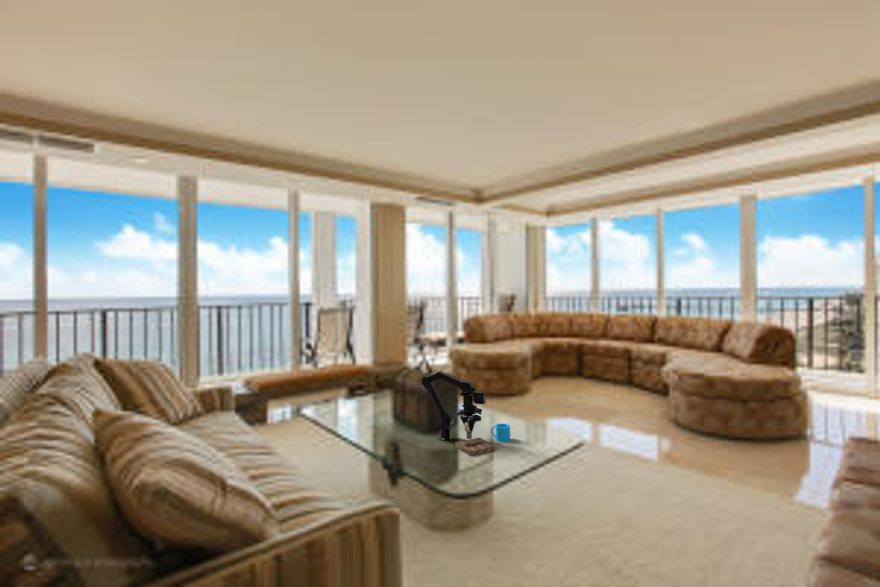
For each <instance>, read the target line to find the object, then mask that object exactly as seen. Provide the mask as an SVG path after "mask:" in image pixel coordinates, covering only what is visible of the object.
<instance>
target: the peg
mask: <svg viewBox="0 0 880 587" xmlns="http://www.w3.org/2000/svg"><path fill="white" fill-rule="evenodd" d="M464 431H465V432H466V439H467V440H470V439H473V437H472V436H473V433H472V432H473V431H472V432H471V431H470V429H469V426H468V422H465V426H464Z"/></svg>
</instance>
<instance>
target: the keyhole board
mask: <svg viewBox="0 0 880 587" xmlns="http://www.w3.org/2000/svg"><path fill="white" fill-rule="evenodd" d="M454 445H455V448H456V447H457V449H458V450H460V451H461V452H463V453H464V454H466V455H467V456H470V457H472V456H477V455H481V454H486V453H489V452H495V451H496V449H497V448H496V445H495V444H493V443H491V442H489V441H488V440H485V439H483V438H481V437H475V438H472V439H467V440H466V439H465V440H461V441H457V442H455V443H454Z"/></svg>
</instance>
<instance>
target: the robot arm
mask: <svg viewBox="0 0 880 587" xmlns="http://www.w3.org/2000/svg"><path fill="white" fill-rule="evenodd" d="M437 380H440V381H443V382H446V383H448V384H451V385H453V386H455V387H457V388H458V389H459V390H460V391H461V392H460V394H459V396H460V397H462V400H463V401H462V402H463V404H461V407H462V408H463V409H457V411H456V416H457V417H459V418H460V421H461V422H462V424H463V426H464V427H465V422H468V426H469V429H470V431H471V432H474V428H475V424H476V422H481V421H482V416H481V415H482V413H483V409H482V408H480V407H478V405H486V404H487V397H486V396H487V395H486V392H485V391H478V390H477V389H476V387H475V385H474V383H473V381H470V380H467V379H461V378H457V377H455V376H452V375H451V374H448V373H445V372H443V371H441V370H439V371H436V372H435V373H434V374H432V375H431V374H428V375H426V376H423V377H422V378H421V380H420V381H421V384H422V386H423V388H424V389H425V390H427V391H428V393H429V395H430V397H431V399H432V401H433V402H434V405H435V407H436V408H437V411H438V413H439V419H440V423H439V425H438V426H437V429H438V430H439V432H440V435H439V437H441V438H444V439H449V440H451V439H450V437H451V431H450V430H451V427H452V425H453V424H454V422H455V418H454V417H455V415H454V414H453V412H452V411H451V410H450V411H449V410H448V409H447V407H446V406H445V404H444V402H443V400H442V397H441V396H440V393H439V391H438V390H437V387H436V386H437V385H436V381H437Z"/></svg>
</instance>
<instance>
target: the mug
mask: <svg viewBox="0 0 880 587" xmlns="http://www.w3.org/2000/svg"><path fill="white" fill-rule="evenodd" d="M494 429H495V433H494ZM490 433H491V435H492V436H493V437H495V439H496V441H497V442H499V441H500V443H507V441H508V442H510V441H511V425H510V424H509V423H498V424H497V423H496V424H495V425H493V426H492V427H491V429H490Z"/></svg>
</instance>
